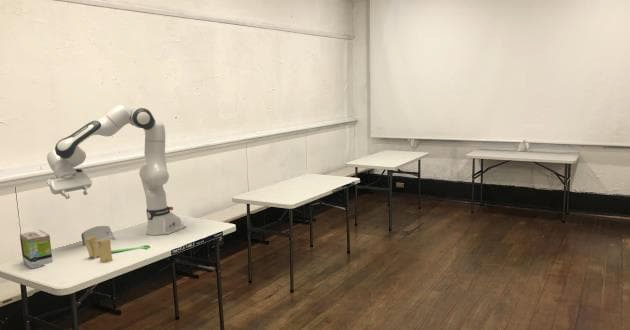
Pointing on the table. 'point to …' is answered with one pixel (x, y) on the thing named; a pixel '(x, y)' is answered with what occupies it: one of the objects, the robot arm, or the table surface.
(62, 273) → the table surface
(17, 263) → the table surface
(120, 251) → the wrench
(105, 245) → the tan wooden block
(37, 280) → the table surface
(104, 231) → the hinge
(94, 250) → the wooden block
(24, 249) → the tea box
